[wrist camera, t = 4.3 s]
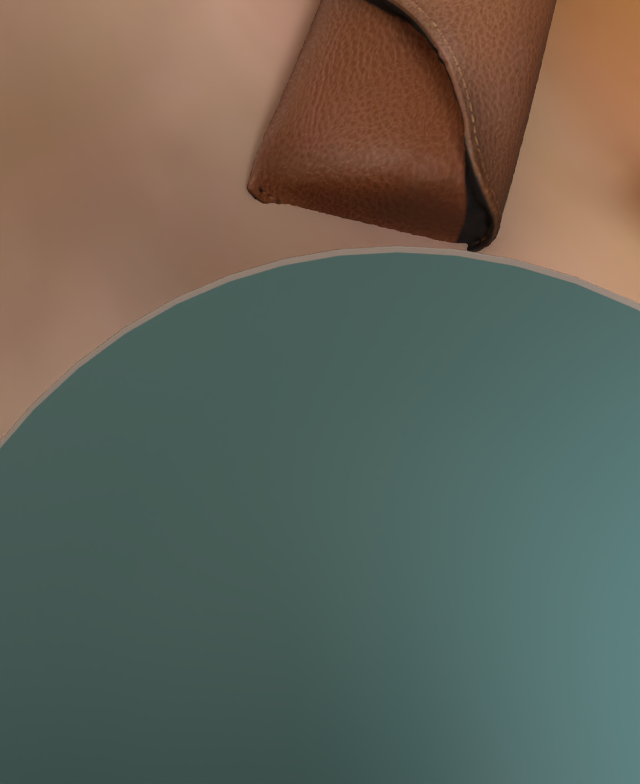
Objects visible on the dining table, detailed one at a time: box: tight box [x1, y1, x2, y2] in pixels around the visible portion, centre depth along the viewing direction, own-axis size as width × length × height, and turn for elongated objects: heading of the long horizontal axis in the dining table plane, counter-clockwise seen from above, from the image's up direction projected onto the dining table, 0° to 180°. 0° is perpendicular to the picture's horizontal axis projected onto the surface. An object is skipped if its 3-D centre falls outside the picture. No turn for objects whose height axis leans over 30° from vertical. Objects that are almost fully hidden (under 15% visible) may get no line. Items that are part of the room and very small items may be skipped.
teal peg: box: [0, 246, 640, 784], centre depth 9 cm, size 5×5×13 cm
